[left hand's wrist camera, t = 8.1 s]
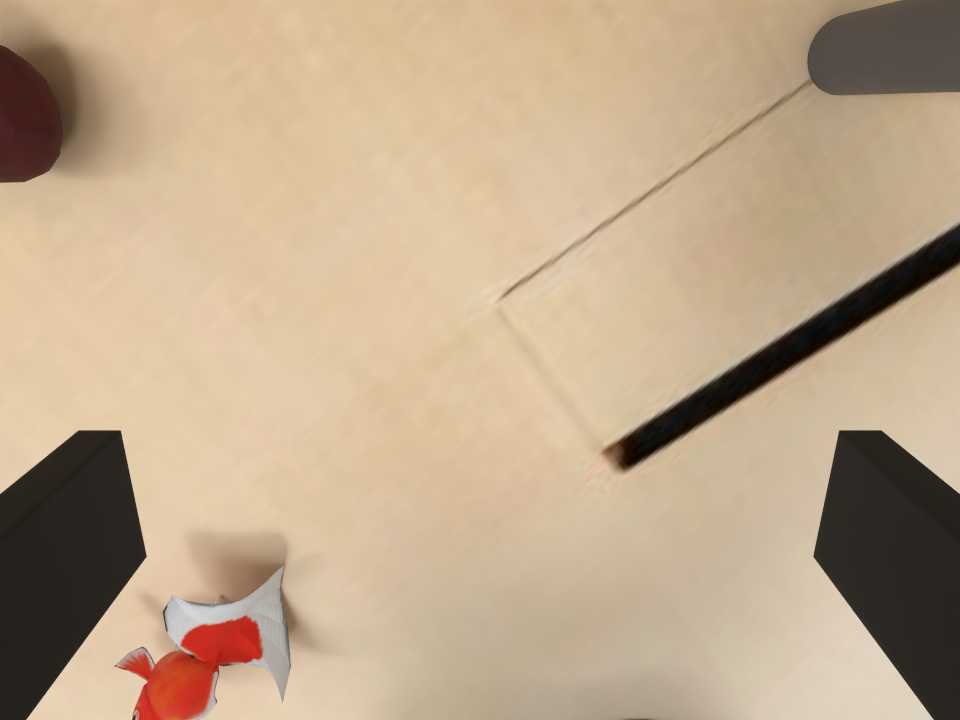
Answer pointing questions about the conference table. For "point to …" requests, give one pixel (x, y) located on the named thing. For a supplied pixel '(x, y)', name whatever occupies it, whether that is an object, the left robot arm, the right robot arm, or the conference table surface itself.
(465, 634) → the conference table surface
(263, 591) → the fish
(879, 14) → the bottle
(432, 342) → the conference table surface
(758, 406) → the conference table surface
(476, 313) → the conference table surface
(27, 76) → the dark maroon ball
